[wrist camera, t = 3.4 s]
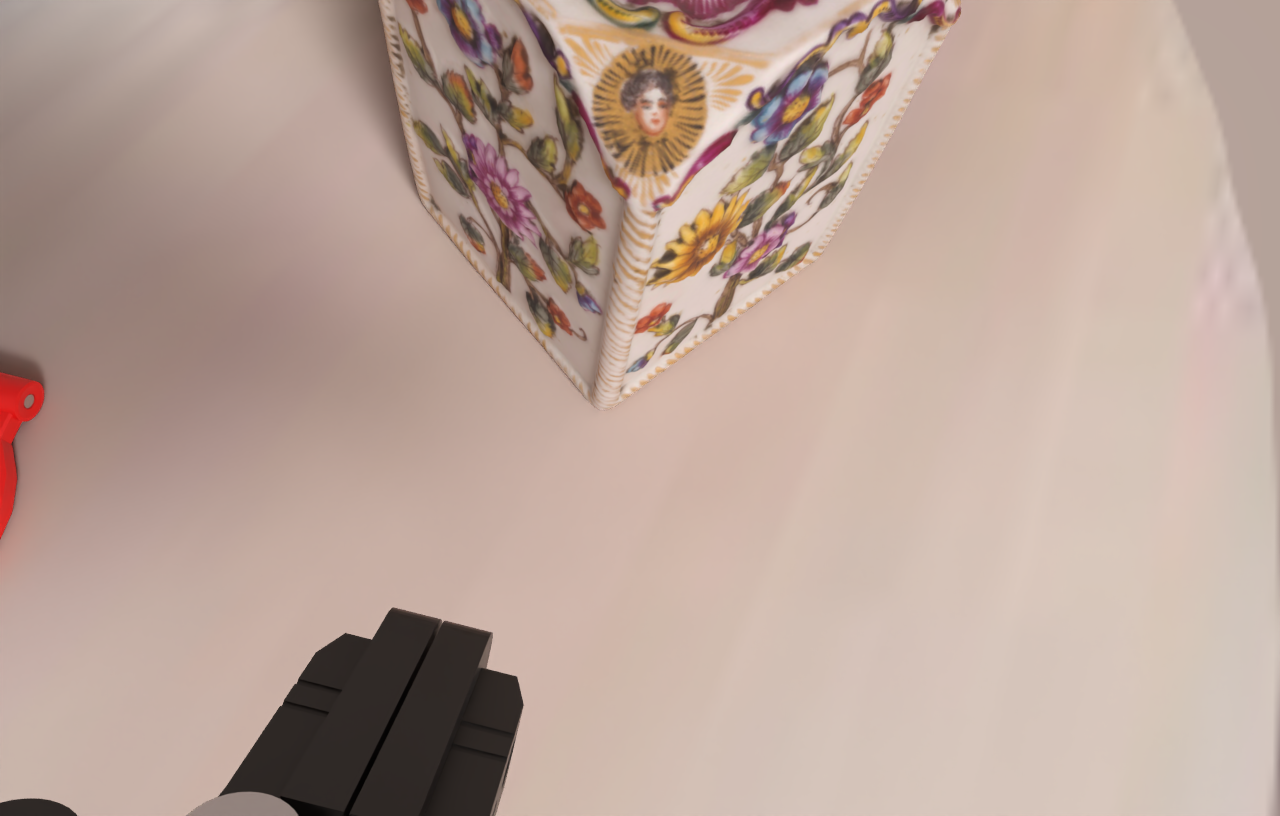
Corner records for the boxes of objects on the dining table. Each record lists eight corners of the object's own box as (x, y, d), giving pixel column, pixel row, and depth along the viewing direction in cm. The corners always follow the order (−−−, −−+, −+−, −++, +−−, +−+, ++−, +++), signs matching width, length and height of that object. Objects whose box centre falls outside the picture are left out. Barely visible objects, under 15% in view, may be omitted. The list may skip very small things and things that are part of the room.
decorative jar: (411, 201, 35) (297, -309, 18) (640, 67, 39) (720, -461, 22) (604, 431, 32) (677, 80, 16) (831, 264, 36) (1085, -166, 19)
